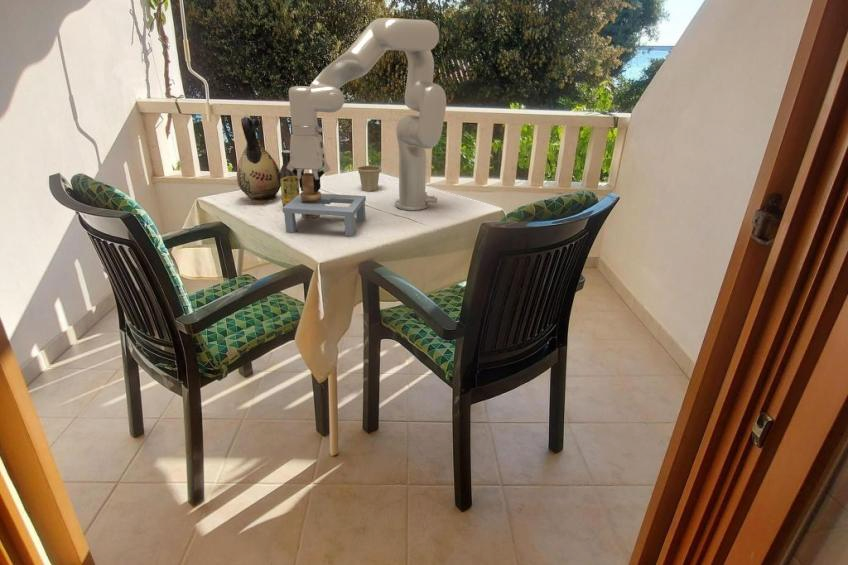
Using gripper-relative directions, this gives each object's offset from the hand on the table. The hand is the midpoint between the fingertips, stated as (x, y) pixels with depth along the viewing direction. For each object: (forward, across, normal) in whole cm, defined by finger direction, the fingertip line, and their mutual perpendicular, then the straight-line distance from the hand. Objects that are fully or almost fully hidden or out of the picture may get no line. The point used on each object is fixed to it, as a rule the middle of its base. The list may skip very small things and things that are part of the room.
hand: (310, 190), depth 155 cm
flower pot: (+12, -9, -44) cm, 46 cm away
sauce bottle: (+12, +13, -16) cm, 24 cm away
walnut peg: (+9, 0, 0) cm, 9 cm away
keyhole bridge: (+12, -5, 0) cm, 12 cm away
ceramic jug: (+12, +27, -22) cm, 37 cm away
